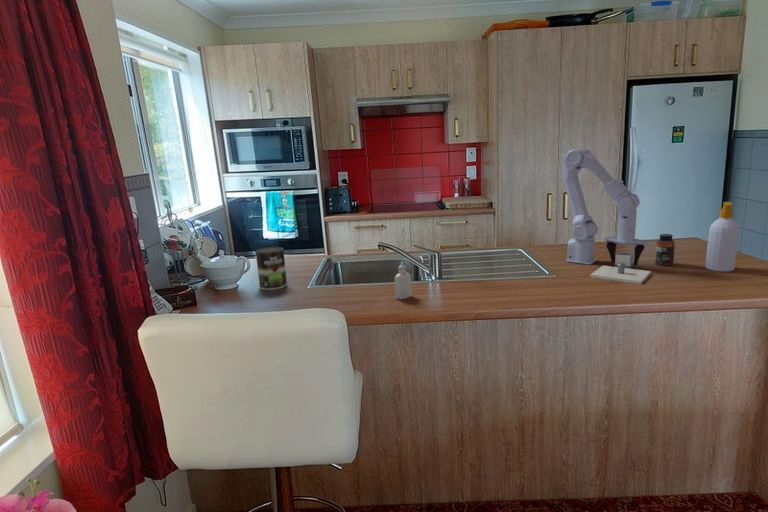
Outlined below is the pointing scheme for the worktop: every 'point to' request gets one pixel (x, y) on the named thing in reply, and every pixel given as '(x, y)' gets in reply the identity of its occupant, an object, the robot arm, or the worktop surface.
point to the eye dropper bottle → (402, 283)
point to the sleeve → (624, 259)
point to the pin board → (621, 274)
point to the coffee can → (271, 268)
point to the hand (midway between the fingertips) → (624, 263)
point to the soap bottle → (722, 242)
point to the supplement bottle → (665, 250)
